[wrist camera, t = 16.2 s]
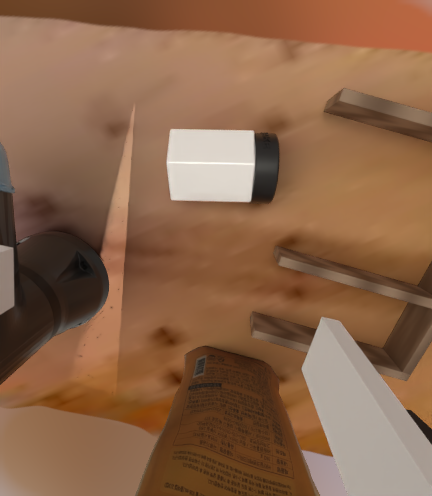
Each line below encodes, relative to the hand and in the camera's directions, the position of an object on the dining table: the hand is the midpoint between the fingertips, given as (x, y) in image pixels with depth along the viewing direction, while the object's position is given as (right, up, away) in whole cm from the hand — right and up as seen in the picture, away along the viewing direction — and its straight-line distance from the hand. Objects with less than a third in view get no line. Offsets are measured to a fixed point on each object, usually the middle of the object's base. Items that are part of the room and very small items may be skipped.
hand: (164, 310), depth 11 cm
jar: (-3, +12, +20) cm, 24 cm away
